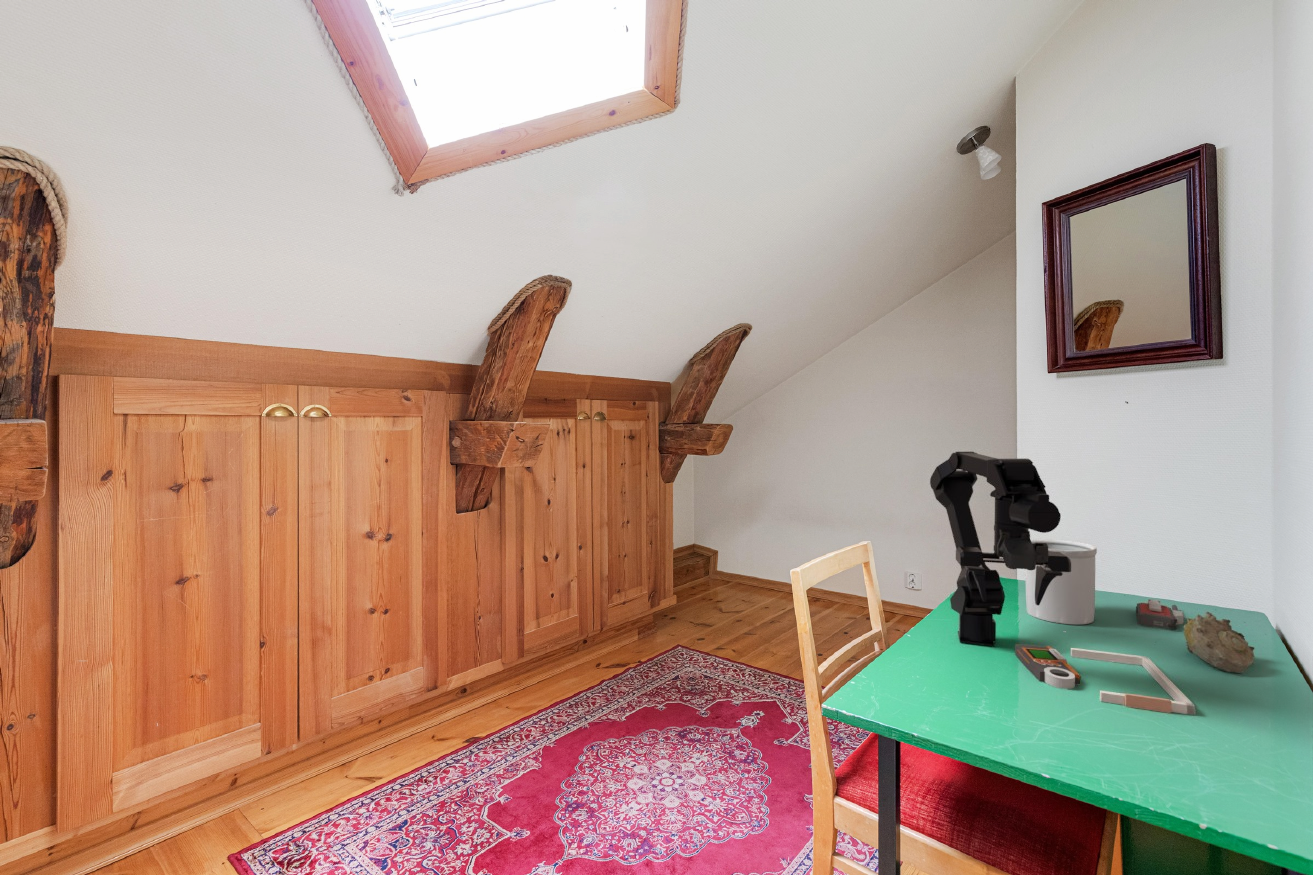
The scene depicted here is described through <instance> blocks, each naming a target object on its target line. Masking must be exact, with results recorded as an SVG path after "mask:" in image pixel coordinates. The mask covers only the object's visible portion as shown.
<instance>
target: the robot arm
mask: <svg viewBox="0 0 1313 875" xmlns="http://www.w3.org/2000/svg"><path fill="white" fill-rule="evenodd" d="M977 475H978V476H981V477H984V478H986V482H987V483H988V484H990V485H991V486H992V487H994V490H991V492H990V494H989V495H990V497H991V498H992V497H993V498H994V524H993V531H994V532H993V533H994V535H993V536H994V537H993V539H994V541H993V542H994V544H993V552H984V551H983V550H982V548H981V544H980V540H979V536H978V531H977V528H976V525H975V521H974V518H973V515H972V514H973V513H972V511H971V508H970V507H971V506H970V501H971V498H972V496H973V493H974V487H973V486H974V485H975V484H976V482H977V481H978V476H977ZM929 485H930V487H931V489H932V491H933V494H934V497H935V500H936V501H937V502H938V503H940V504H941V506H942V507H943V508H944V509H945V510H946V514H947V517H948V521H949V525H950V529H951V533H952V537H953V542H954V545H955V561H956V562H957V563H958V564H959V566H960V573H959V574H958V577H957V579H956V587H957V589H956V590H955V591H954V593H953V594H952V596H951V597H950V599H949V600H950V607H951V608H950V609H951V610H953V611H955V612H956V613H957V614H958V631H957V636H958V641H959V642H960V643H963V644H971V645H976V646H977V645H978V646H987V647H994V646H995V643H994V642H996V638H997V637H996V636H997V634H996V633H997V631H996V630H997V624H996V620H995V619H994V615H998V616H1001V614H1002V611H1003V608H1004V602H1005V598H1006V595H1005V591H1004V587H1003V585H1002V582H1001V578H1000V574H999V572H998V570H996V569H991V568H990V567H989V566H987V564H986V563H996V564H1004V565H1005V566H1006V568H1008V569H1009V570H1017V569H1018V570H1019V569H1021V570H1025V569H1027V570H1035V568H1036V581H1035V604H1036V605H1040V603H1041V600H1042V598H1043V596H1044V594H1045V591H1046V589H1047V587H1048V585H1049V584H1050V582H1051V581H1052V580H1053V579H1054V578H1055V577H1056V576H1062V575H1063V573H1062V572H1071V561H1070V559H1069V558H1068V557H1067V556H1065V555H1064V554H1062V553H1061V552H1056V551H1048V545H1047V544H1046V543H1031V540H1032V539H1031V532H1030V530H1032V531H1035V532H1039V533H1043V534H1045V533H1049V532H1052V531H1054V530H1055V529H1057V527H1058V526H1059V524H1060V522H1061V513H1060V510H1059V507H1058V506H1056V505H1055V503H1053V502H1052V501H1050V494H1048V493H1047V491H1046V485H1045V484H1044V482H1043V480H1042V479H1041V476H1040V474H1039V472H1038V469H1037V468H1036V465H1035V464H1034V462H1033V461H1032V460H1031V459H1029V458H998V457H993V456H988V455H984V454H980V453H977V452H975V451H955V452H952V453H951V454H950V456H949V457H948V458H947V459H946V460H944V461H943V462H942V463H941V464H938V465H937V466H936V467H935V469H934V471H933V473H932V474H931V477H930V479H929ZM1036 565H1040V566H1036Z"/></svg>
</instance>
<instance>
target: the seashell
mask: <svg viewBox="0 0 1313 875" xmlns="http://www.w3.org/2000/svg"><path fill="white" fill-rule="evenodd" d="M1186 620H1187V623H1186V624H1184V625H1183V630H1184V631H1183V637H1184V640H1185V641H1186V642H1185V643H1186V649H1187V651H1189V653H1192V654H1194V655H1196V656H1198V657H1199V658H1200V659H1201V660H1203V661H1204V662H1206V663H1208V664H1209V665H1211V667H1215V668H1217V669H1218V670H1220V671H1224V672H1228V673H1230V672H1232V673H1237V674H1242V673H1243V672H1244V671H1246V670H1248V669H1249V667H1251V666H1252V664H1253V662H1254V661H1255V654H1254V650H1255V647H1253V646H1250V645H1249V641H1247V640H1246V638H1245V636H1244V635H1243V634H1242V633H1241V632H1238V631H1236V630H1234V629H1233V628H1232V625H1230V624H1231V620H1230V619H1224V618H1222V619H1217V617H1216V616H1215V615H1213V613H1211V612H1209V611H1206V612H1205V616H1202V615H1200V614H1197V615H1196V618H1190V617H1189V618H1187V619H1186Z"/></svg>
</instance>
